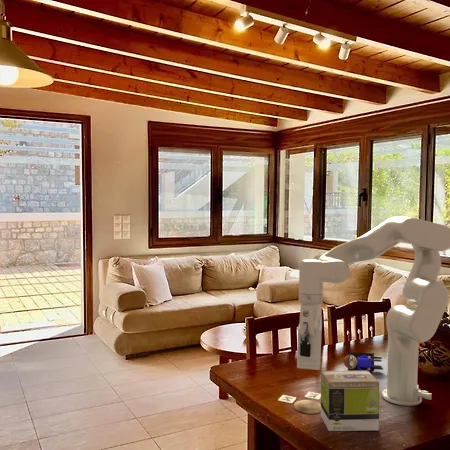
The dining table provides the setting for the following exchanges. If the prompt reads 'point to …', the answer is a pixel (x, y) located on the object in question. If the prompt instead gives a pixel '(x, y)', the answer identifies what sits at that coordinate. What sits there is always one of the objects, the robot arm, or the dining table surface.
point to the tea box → (350, 400)
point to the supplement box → (315, 354)
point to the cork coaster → (307, 406)
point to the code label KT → (313, 395)
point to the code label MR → (287, 399)
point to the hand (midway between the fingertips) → (309, 352)
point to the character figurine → (362, 361)
